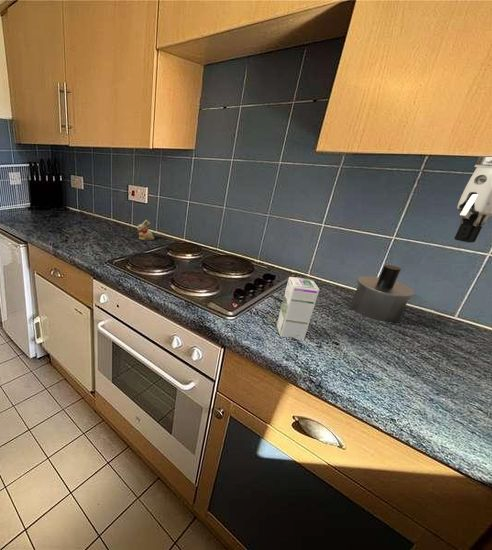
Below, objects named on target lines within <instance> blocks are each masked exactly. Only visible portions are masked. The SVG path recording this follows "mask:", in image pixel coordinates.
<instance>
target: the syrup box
mask: <svg viewBox="0 0 492 550" xmlns="http://www.w3.org/2000/svg"><path fill="white" fill-rule="evenodd" d="M319 293H320V288H319V286H318V285H317V283H316V282H315V281H314V279H310V278H306V277H297V276H289V277H288V280H287V283H286V288H285V291H284V295H283V298H282V302H281V306H280V310H279V314H278V318H277V321H276V329H277V332H278V335H279V337H280V338H284V339H285V338H287V337H288V338H292V339H298V340H305V338H306V335H307V331H308V328H309V325H310V322H311V319H312V315H313V312H314V309H315V307H316V302H317V299H318V296H319Z"/></svg>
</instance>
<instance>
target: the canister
mask: <svg viewBox="0 0 492 550" xmlns="http://www.w3.org/2000/svg"><path fill="white" fill-rule="evenodd" d="M409 299H410V297H407V298H401V297H393V296H388V295H383V294H380V293H376V292H374V291H371V290H368V289H366V288H364V287H362V286H361V285H360V284H359V283H358V285H357V288H356V290H355V293H354V295H353V297H352V301H351V303H350V306H349V307H350V310H352V311H354V312H356V313H358V314H359V315H361V316H362V317H366V318H368V319H372V320H375V321H379V322H382V323H391V324H397V323H398V322H399V321H400V319H401V316H402V315H403V312H404V310H405V308H406V306H407V304H408V302H409Z"/></svg>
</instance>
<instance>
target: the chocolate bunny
mask: <svg viewBox="0 0 492 550" xmlns="http://www.w3.org/2000/svg"><path fill="white" fill-rule="evenodd" d="M149 226H151V222H150V221H149V220H148V219H145V220H144V221H143V222H142V223H140V224H138V225H137V228H136V229H137V232H138V240H140V241H141V240H142V241H154V240H155V236H154V234H153V232H151V230H149Z"/></svg>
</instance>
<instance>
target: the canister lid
mask: <svg viewBox="0 0 492 550" xmlns="http://www.w3.org/2000/svg"><path fill="white" fill-rule="evenodd" d="M401 270H402V268H401V267H398V266H395V265H390V264H385V265H383V267H382V270H381V272H380V275H379V276H370V275H369V276H366V275H365V276H360V277H358V278H357V281H356V282H357V284H358V285H359V284H360V285H361V286H362V287H364V288H366V289H368V290H371V291H374V292H376V293H380V294H383V295H388V296H393V297H401V298H407V297H409V298H412V297H413V296H414V295H415V291H414V289H413V288H411V287H410V286H407V285H405V284H403V283H401V282H398V281H397V280H398V278H399V275H400V273H401Z"/></svg>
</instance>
